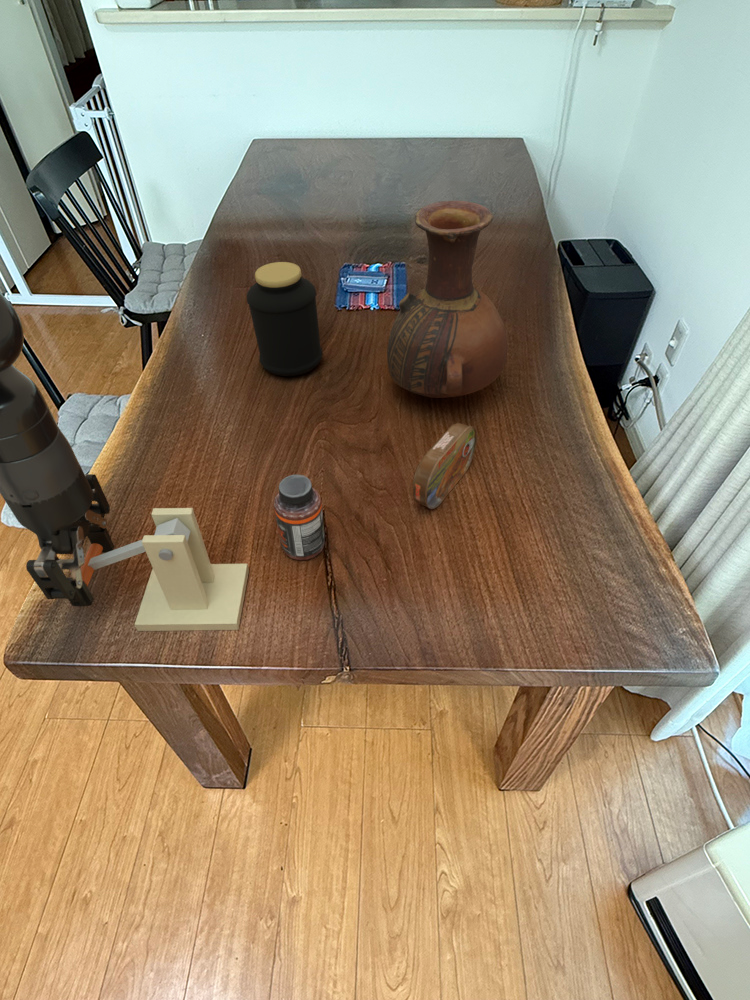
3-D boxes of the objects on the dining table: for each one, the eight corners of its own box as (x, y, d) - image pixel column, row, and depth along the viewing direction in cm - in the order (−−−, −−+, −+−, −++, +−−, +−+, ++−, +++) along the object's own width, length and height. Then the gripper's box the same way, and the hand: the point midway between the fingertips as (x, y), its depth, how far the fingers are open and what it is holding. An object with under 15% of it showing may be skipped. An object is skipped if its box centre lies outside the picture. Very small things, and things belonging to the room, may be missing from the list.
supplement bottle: (275, 537, 81) (263, 476, 73) (316, 523, 83) (309, 462, 75) (289, 568, 77) (279, 507, 69) (332, 553, 79) (327, 492, 71)
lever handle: (83, 592, 68) (67, 580, 67) (99, 554, 72) (84, 542, 71) (183, 557, 64) (168, 544, 62) (194, 519, 68) (180, 506, 66)
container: (244, 369, 111) (226, 274, 98) (288, 341, 117) (276, 249, 105) (294, 391, 106) (281, 294, 93) (336, 360, 112) (330, 266, 100)
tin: (426, 520, 83) (430, 476, 77) (407, 511, 84) (409, 467, 79) (476, 461, 92) (482, 417, 86) (457, 453, 93) (463, 410, 87)
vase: (378, 358, 113) (377, 187, 92) (480, 350, 115) (503, 181, 93) (398, 440, 96) (402, 254, 74) (518, 430, 97) (556, 244, 76)
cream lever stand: (137, 631, 71) (98, 557, 61) (156, 571, 77) (124, 495, 68) (238, 630, 71) (215, 556, 61) (249, 570, 77) (230, 494, 68)
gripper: (29, 429, 64) (84, 531, 76) (-34, 528, 54) (40, 628, 66) (99, 428, 64) (143, 530, 76) (49, 527, 54) (108, 627, 66)
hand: (95, 575), depth 71 cm, fingers open, 7 cm apart
